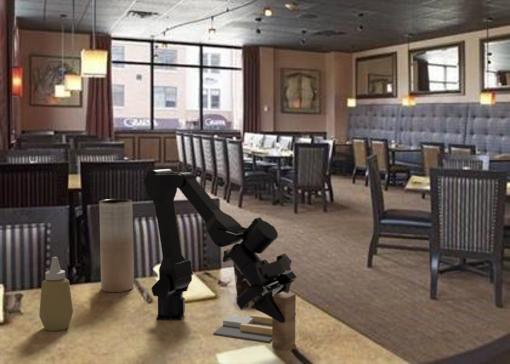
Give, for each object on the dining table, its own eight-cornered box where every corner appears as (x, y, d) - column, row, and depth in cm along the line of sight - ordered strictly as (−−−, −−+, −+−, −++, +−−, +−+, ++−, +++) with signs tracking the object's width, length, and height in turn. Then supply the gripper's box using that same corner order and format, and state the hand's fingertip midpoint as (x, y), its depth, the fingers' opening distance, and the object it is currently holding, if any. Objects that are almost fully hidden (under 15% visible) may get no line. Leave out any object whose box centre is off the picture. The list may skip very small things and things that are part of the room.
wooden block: (272, 346, 129) (272, 296, 127) (282, 340, 132) (282, 291, 131) (285, 350, 127) (285, 298, 126) (295, 343, 130) (295, 293, 129)
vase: (95, 292, 171) (94, 202, 168) (108, 283, 181) (107, 198, 178) (126, 293, 170) (125, 203, 167) (138, 284, 179) (136, 199, 177)
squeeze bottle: (80, 324, 143) (78, 255, 141) (59, 335, 135) (57, 262, 133) (54, 320, 145) (52, 252, 144) (32, 330, 138) (30, 259, 136)
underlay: (213, 334, 136) (213, 326, 136) (232, 318, 148) (233, 311, 147) (269, 342, 131) (269, 334, 131) (285, 325, 142) (285, 318, 142)
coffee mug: (258, 299, 164) (258, 266, 163) (230, 297, 166) (230, 264, 165) (265, 288, 175) (265, 257, 174) (239, 287, 177) (239, 256, 176)
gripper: (247, 251, 122) (290, 310, 117) (290, 238, 137) (330, 289, 132) (218, 281, 127) (258, 338, 122) (263, 265, 142) (300, 315, 137)
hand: (289, 318), depth 128 cm, fingers closed on wooden block, 4 cm apart
